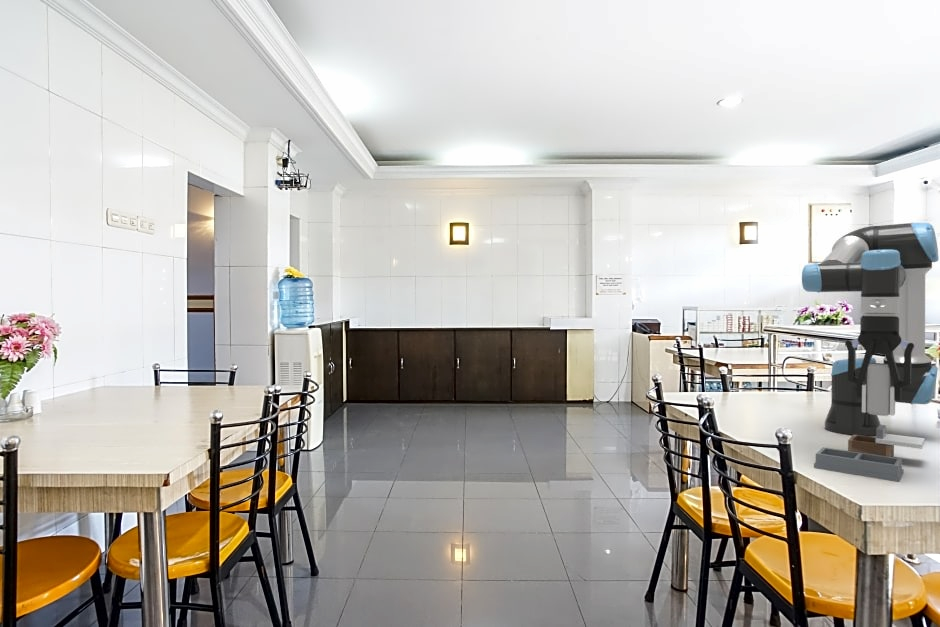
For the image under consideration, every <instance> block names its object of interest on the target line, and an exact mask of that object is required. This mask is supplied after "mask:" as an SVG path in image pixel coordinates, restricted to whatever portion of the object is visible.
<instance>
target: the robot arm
mask: <svg viewBox="0 0 940 627" xmlns="http://www.w3.org/2000/svg"><path fill="white" fill-rule="evenodd" d="M938 261H939V248H938V241H937V237H936V233H935V229H934V226H933V225H932V224H931V223H929V222H910V223H897V224H896V223H895V224H883V225H882V224H881V225H870V226H864V227H862V228H861V227H860V228H858V229H856V230H853V231H851V232H848V233H847V234H845V235H842V236H841V237H840V238H838V240H836V241H835V243H834V244H833V246H832V248H831V251H830V252H829V254H828V255H827V256H826V257H825V258H824V260H822V262H820V263H812V264H811V263H810V264H806V265H804V266H803V268H802V272H801V285H802V288H803V290H804V291H805V292H809V293H810V292H811V293H815V292H816V293H841V292H842V293H843V292H855V293H856V292H860V293H861V294H860V313H861V314H862V315H861V317H860V327H859V328H860V329H859V331H860V334H859V335H858V336H857V338H855V339H852V340H850V339H849V340H846V341H845V346H846V348H847V352H848V353H847V359H846V358H845V359H844V358H843V359H837V360H835V361H834V362H832V367H831V373H830V376H831V403H830V407H829V410H828V412H827V415H826V418H825V420H824V429H825V430H827V431H830V432H833V433H837V434H838V433H839V434H843V435H844V434H845V435H851V436H853V435H861V436H869V437H876V429H877V428H878V426H879V425H882V424H881V421H880V420H879V415H872V414H869V413H868V412H867V411H866V393H867V367H868V364H870V363H877V360H876V358H874V357H873V356H874V355H883V356H884V357H883V362H882V363H886V364H888V366H889V369H890V373H891V387H890V415H889V416H895V415H896V403H899V404H900V403H903V404H910V405H928V404H930V403H931V402H932V400H933V398H934V393H935V388H936V384H937V378H938V369H939V368H938V367H937V366H935V365H932V359H931V358H930V357H929V356H928V355H926V274H927V273H928V272H929V271H930V270H932V268H933V263H937V262H938ZM858 344H860V345H861V347H862V348H863V349H864V350H865V353H864V356H863V357H862V358H861V357H860V358H857V357H856V356H857V355H856V354H857V353H856V349H857V348H858Z"/></svg>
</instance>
